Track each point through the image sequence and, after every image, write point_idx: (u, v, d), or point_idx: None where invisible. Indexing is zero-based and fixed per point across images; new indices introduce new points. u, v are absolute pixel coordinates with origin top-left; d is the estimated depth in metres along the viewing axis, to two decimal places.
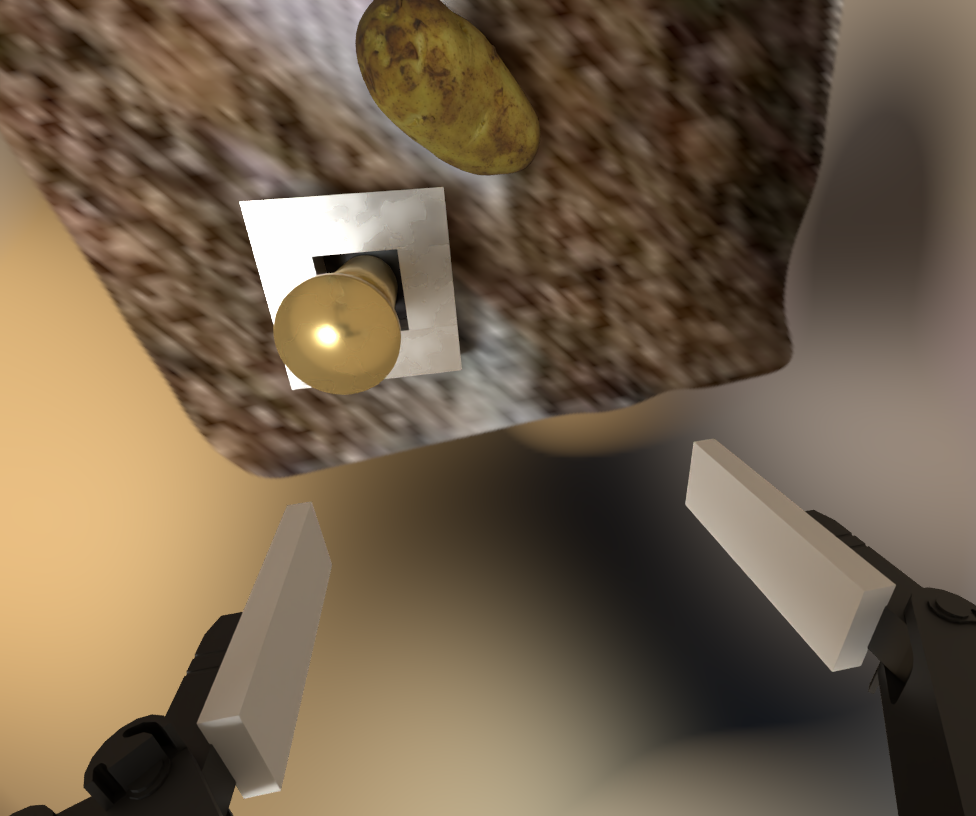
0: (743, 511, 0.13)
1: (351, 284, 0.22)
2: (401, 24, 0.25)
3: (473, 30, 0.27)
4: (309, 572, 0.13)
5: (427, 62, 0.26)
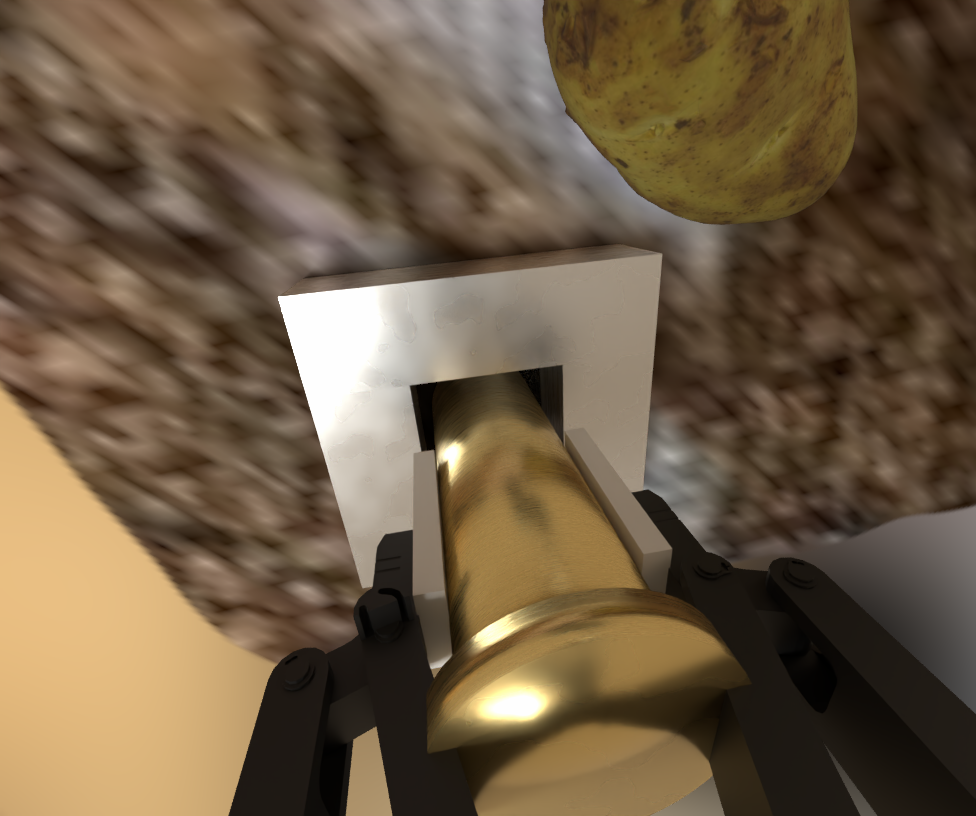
0: None
1: (667, 649, 0.07)
2: None
3: None
4: None
5: None
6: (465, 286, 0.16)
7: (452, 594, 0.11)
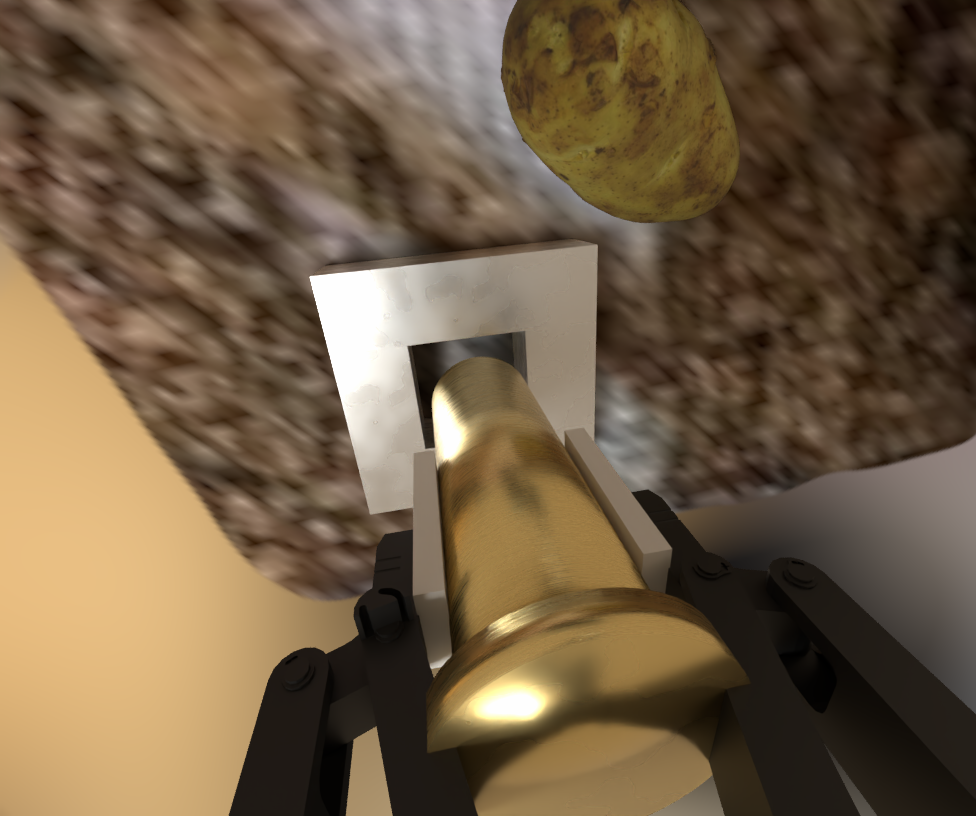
0: None
1: (666, 649, 0.07)
2: (599, 5, 0.15)
3: (689, 14, 0.17)
4: None
5: (630, 66, 0.16)
6: (448, 269, 0.22)
7: (452, 594, 0.11)
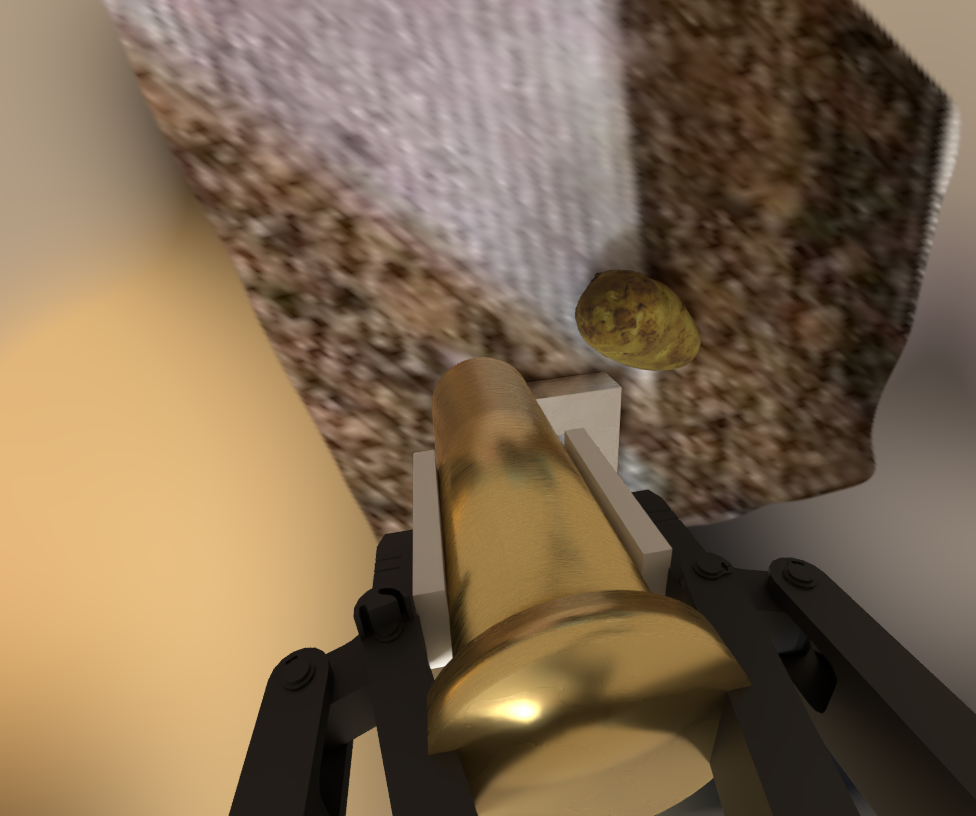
0: None
1: (667, 652, 0.07)
2: (628, 307, 0.33)
3: (671, 295, 0.35)
4: None
5: (642, 328, 0.34)
6: (539, 402, 0.39)
7: (452, 596, 0.11)
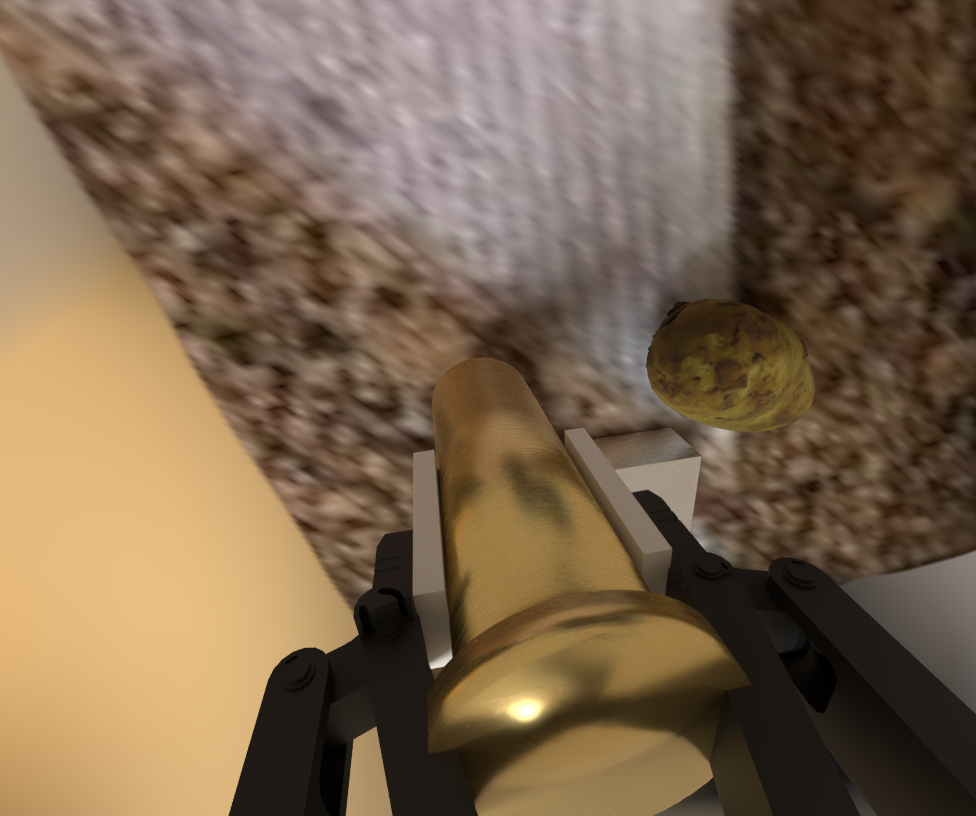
0: None
1: (667, 651, 0.07)
2: (738, 359, 0.22)
3: (792, 337, 0.24)
4: None
5: (755, 388, 0.23)
6: None
7: (452, 596, 0.11)
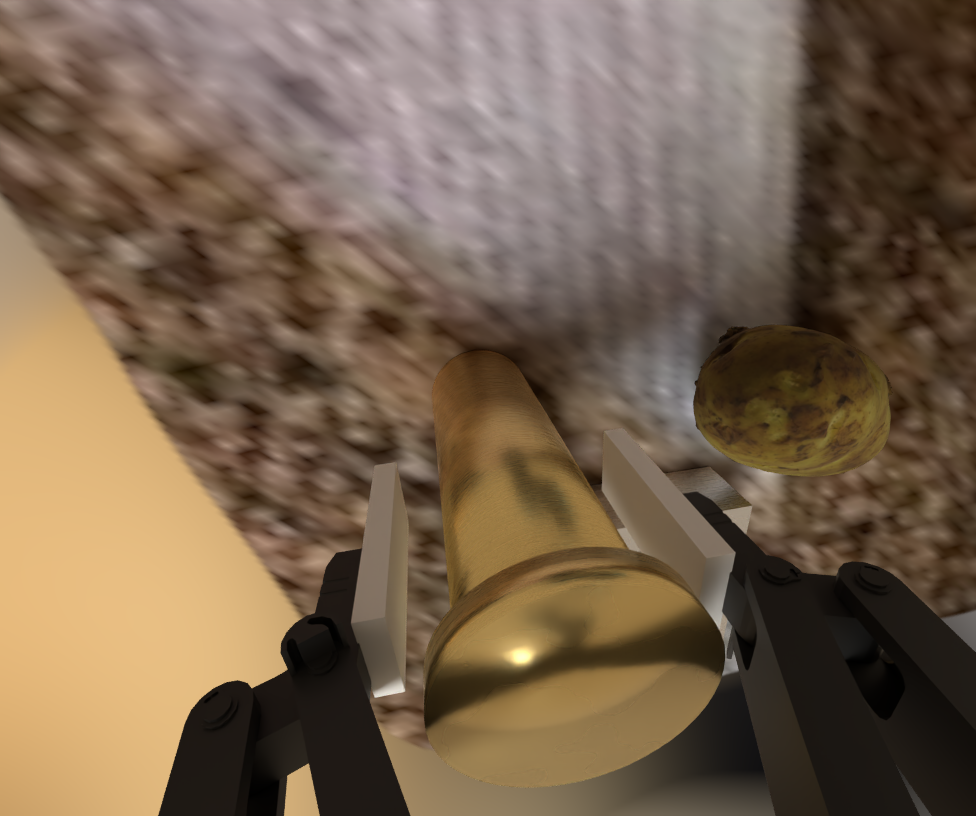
0: (635, 493, 0.14)
1: (642, 598, 0.08)
2: (820, 404, 0.17)
3: (878, 372, 0.19)
4: (400, 522, 0.15)
5: (836, 437, 0.18)
6: (620, 533, 0.24)
7: (451, 563, 0.12)
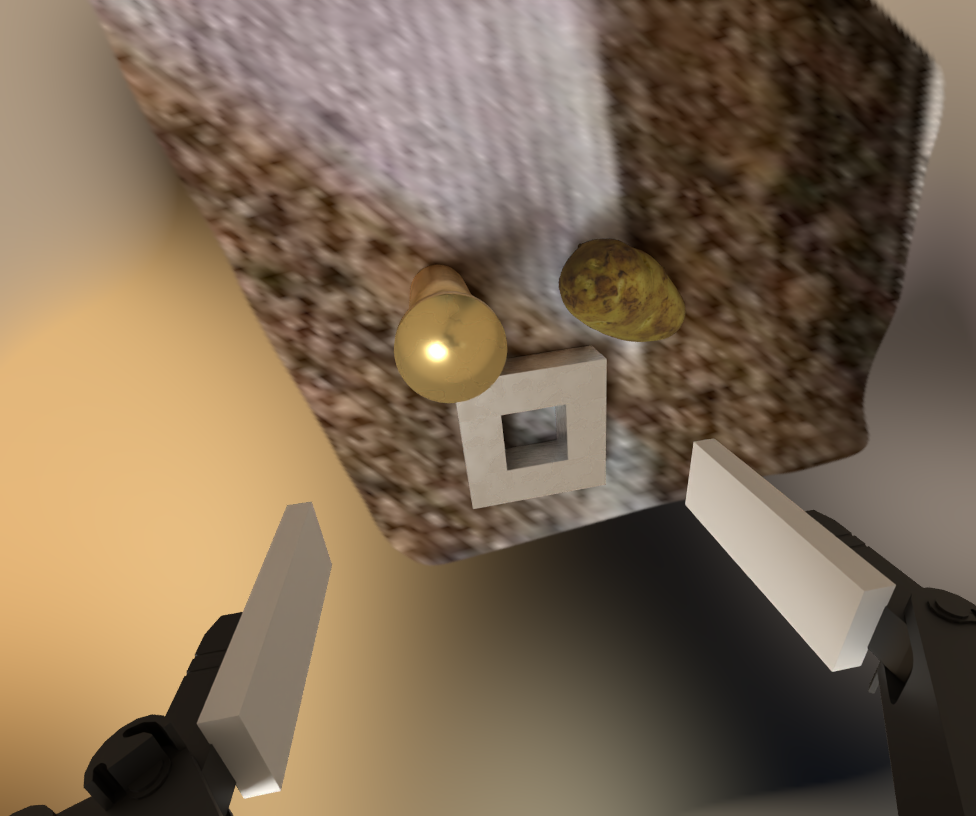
0: (743, 511, 0.13)
1: (466, 301, 0.24)
2: (609, 275, 0.33)
3: (652, 263, 0.35)
4: (309, 572, 0.13)
5: (623, 296, 0.34)
6: (525, 375, 0.40)
7: None
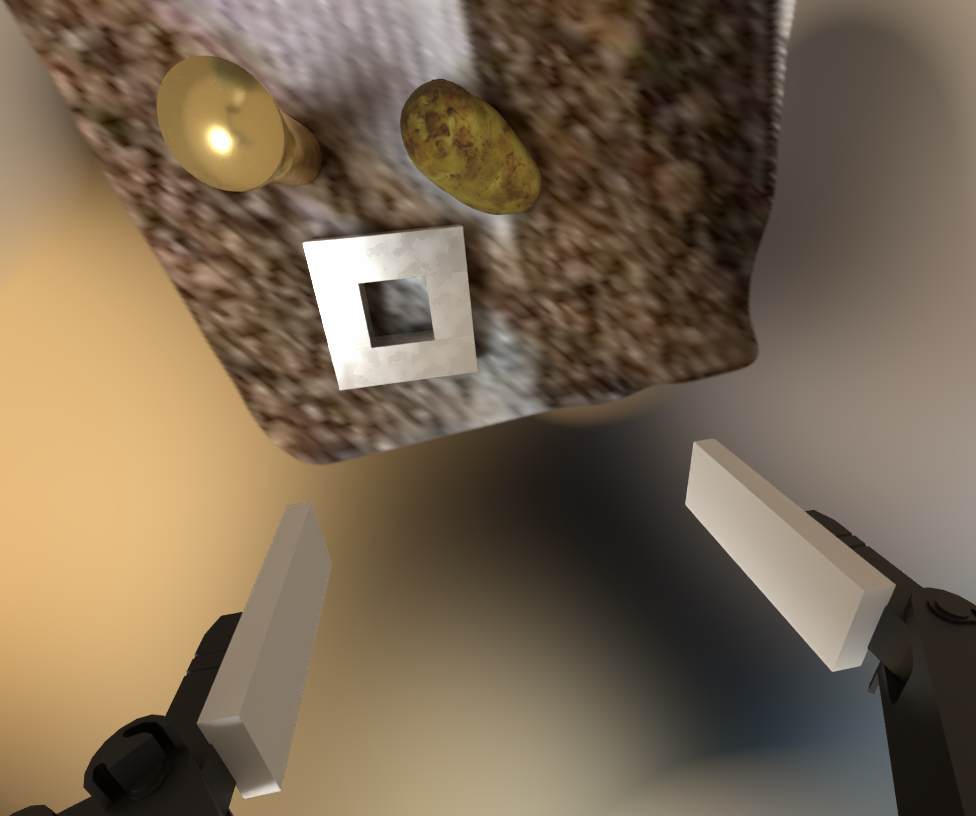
0: (743, 511, 0.13)
1: (227, 66, 0.24)
2: (437, 111, 0.33)
3: (491, 111, 0.35)
4: (309, 572, 0.13)
5: (456, 137, 0.34)
6: (379, 239, 0.39)
7: None
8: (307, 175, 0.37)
